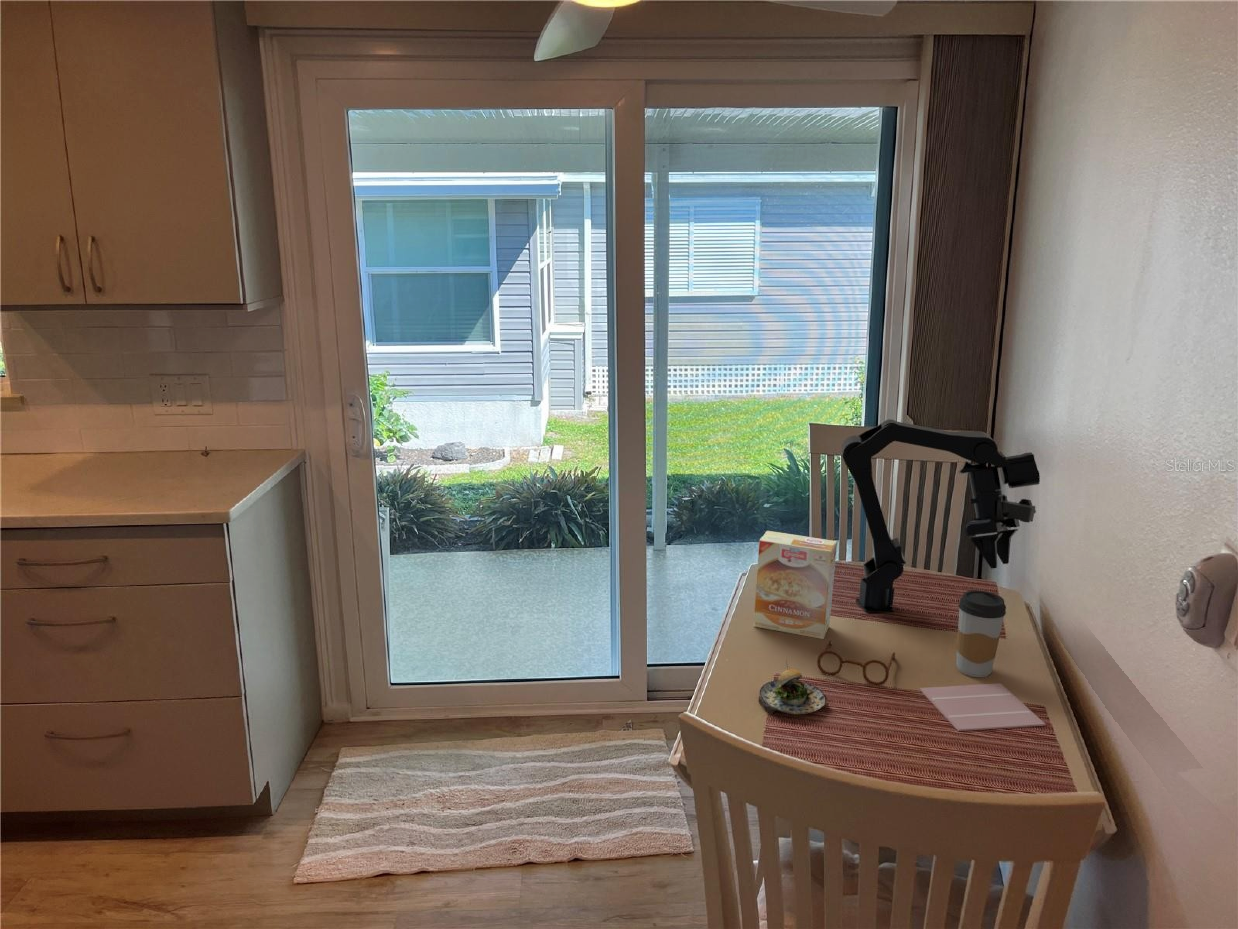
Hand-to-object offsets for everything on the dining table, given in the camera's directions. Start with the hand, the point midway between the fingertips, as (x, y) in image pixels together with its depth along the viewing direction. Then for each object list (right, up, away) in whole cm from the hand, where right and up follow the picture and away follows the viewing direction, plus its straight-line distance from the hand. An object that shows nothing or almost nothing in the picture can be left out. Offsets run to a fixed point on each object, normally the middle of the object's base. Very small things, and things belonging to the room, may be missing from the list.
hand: (1000, 566), depth 186 cm
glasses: (-33, -18, -13) cm, 40 cm away
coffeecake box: (-43, -13, +3) cm, 45 cm away
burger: (-49, -22, -27) cm, 60 cm away
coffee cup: (-11, -19, -14) cm, 26 cm away
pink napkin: (-15, -22, -28) cm, 38 cm away
